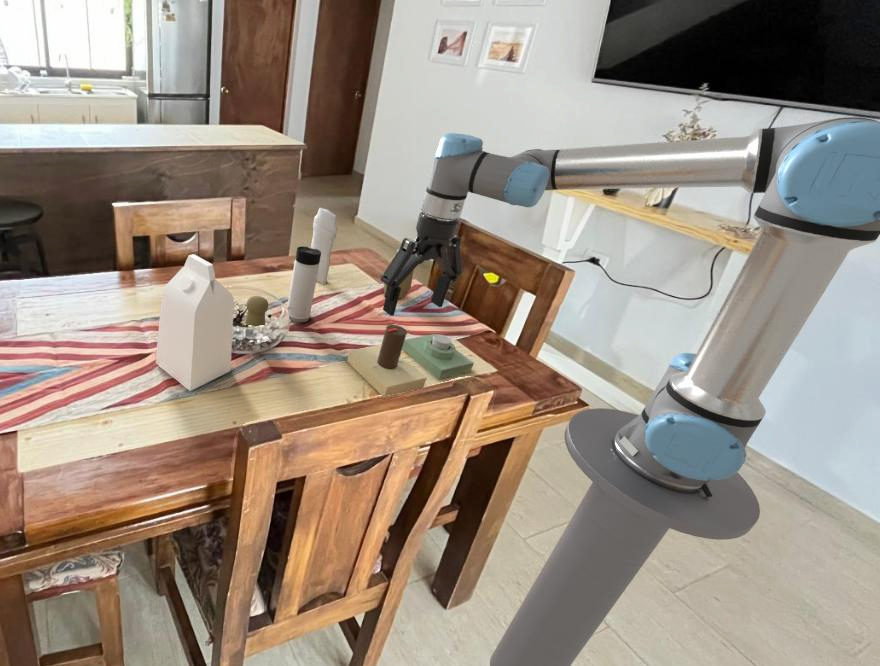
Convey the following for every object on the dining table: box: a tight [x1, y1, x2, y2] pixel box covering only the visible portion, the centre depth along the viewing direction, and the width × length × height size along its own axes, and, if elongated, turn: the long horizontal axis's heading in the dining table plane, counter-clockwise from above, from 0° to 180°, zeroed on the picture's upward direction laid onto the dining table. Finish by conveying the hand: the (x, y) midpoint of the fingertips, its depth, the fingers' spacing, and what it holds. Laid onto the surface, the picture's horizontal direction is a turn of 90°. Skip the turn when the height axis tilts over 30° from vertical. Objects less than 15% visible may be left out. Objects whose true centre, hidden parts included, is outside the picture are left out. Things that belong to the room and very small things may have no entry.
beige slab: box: [346, 343, 427, 397], centre depth 117 cm, size 14×11×3 cm
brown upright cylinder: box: [377, 324, 408, 369], centre depth 114 cm, size 4×4×9 cm
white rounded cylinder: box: [310, 207, 338, 285], centre depth 155 cm, size 11×4×22 cm, turn 29°
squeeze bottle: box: [383, 238, 415, 300], centre depth 151 cm, size 8×8×18 cm
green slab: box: [402, 333, 475, 380], centre depth 124 cm, size 13×10×4 cm
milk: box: [155, 253, 235, 392], centre depth 107 cm, size 12×12×26 cm
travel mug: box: [286, 246, 321, 323], centre depth 133 cm, size 6×7×20 cm
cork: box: [244, 295, 269, 326], centre depth 124 cm, size 6×6×11 cm
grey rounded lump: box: [432, 333, 452, 350], centre depth 123 cm, size 4×4×2 cm
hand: (412, 308), depth 111 cm, fingers open, 13 cm apart
